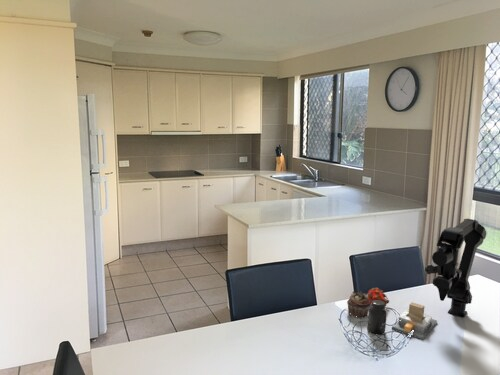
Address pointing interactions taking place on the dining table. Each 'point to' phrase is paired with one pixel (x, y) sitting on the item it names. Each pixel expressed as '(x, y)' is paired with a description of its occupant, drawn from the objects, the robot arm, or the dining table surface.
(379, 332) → the supplement bottle
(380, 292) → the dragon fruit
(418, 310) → the oak wedge
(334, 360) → the dining table surface
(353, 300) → the cupcake
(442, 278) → the robot arm
